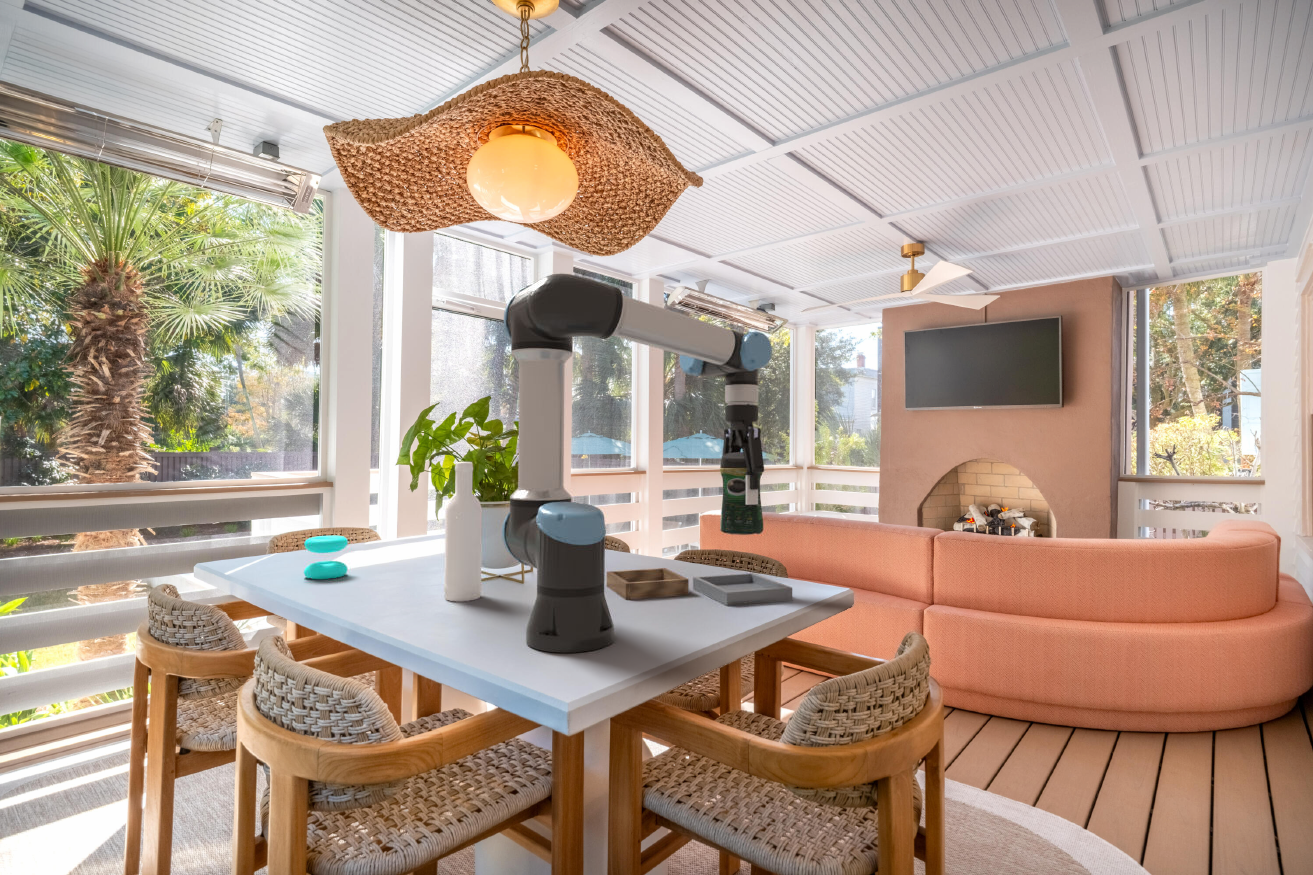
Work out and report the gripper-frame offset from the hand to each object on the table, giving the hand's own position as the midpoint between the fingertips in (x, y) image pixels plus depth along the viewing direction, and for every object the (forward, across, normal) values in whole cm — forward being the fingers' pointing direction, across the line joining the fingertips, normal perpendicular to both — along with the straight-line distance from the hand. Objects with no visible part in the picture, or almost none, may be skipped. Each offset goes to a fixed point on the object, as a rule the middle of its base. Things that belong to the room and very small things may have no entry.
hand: (741, 502), depth 154 cm
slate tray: (+21, 0, 0) cm, 21 cm away
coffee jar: (+7, 0, 0) cm, 7 cm away
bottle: (+21, +17, +60) cm, 66 cm away
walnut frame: (+21, +11, +19) cm, 30 cm away
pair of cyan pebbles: (+21, +53, +91) cm, 107 cm away
